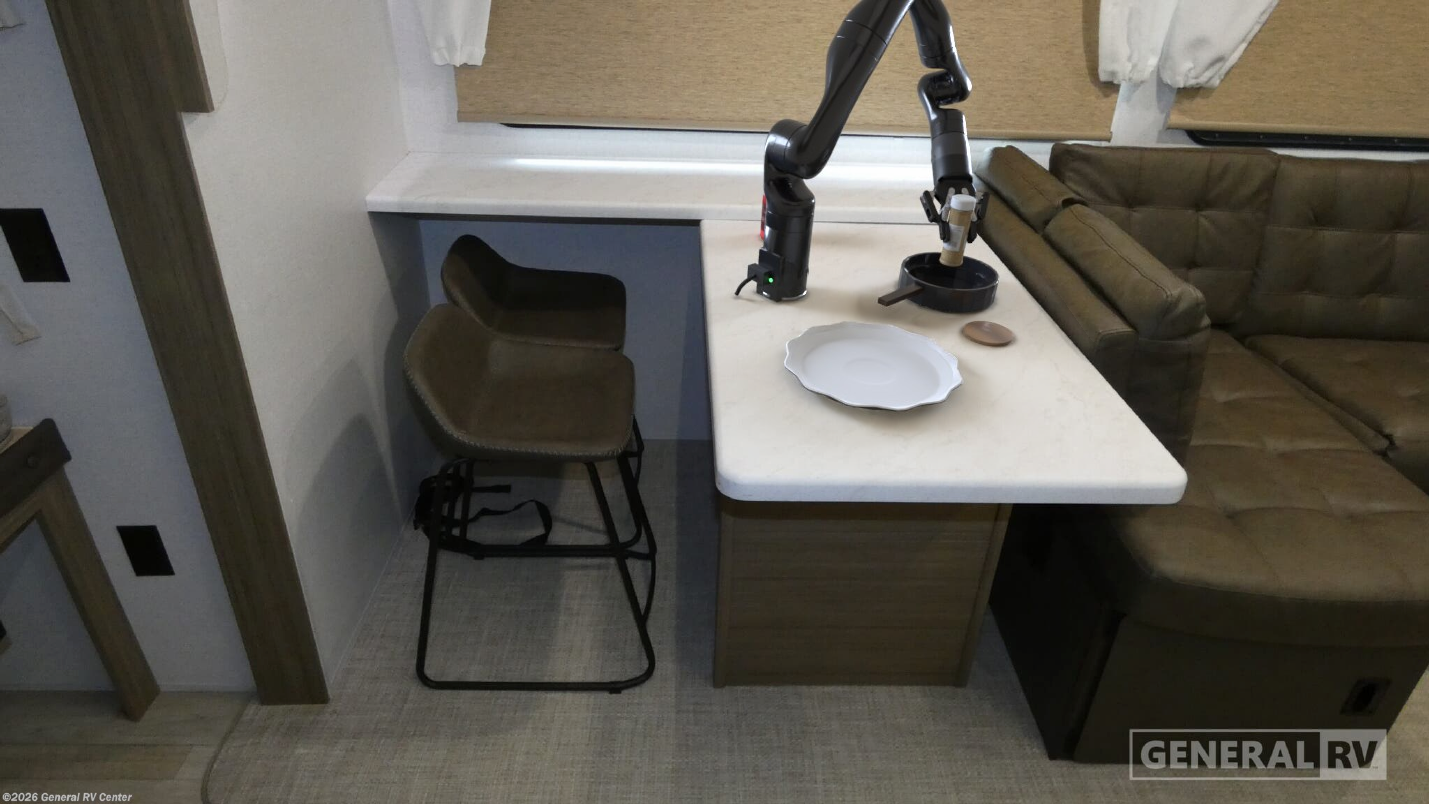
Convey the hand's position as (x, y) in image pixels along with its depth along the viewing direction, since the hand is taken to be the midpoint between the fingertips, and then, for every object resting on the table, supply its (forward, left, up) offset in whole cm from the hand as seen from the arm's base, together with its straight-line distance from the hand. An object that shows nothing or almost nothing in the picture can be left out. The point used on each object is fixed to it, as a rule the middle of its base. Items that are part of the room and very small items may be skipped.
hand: (959, 241), depth 162 cm
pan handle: (-14, +1, -9) cm, 17 cm away
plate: (-37, -11, -12) cm, 40 cm away
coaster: (-8, -15, -12) cm, 20 cm away
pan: (+1, +1, -12) cm, 12 cm away
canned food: (-6, +43, -12) cm, 45 cm away
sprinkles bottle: (+1, +2, -5) cm, 6 cm away
